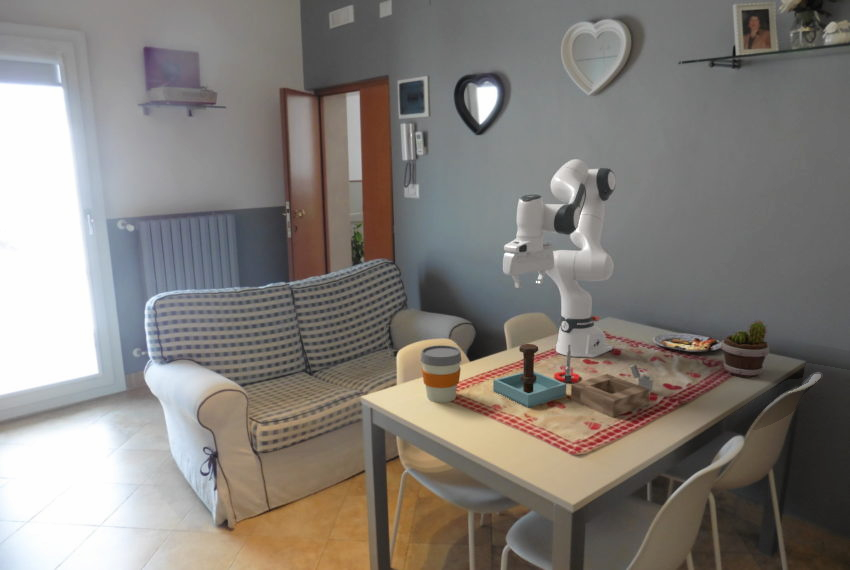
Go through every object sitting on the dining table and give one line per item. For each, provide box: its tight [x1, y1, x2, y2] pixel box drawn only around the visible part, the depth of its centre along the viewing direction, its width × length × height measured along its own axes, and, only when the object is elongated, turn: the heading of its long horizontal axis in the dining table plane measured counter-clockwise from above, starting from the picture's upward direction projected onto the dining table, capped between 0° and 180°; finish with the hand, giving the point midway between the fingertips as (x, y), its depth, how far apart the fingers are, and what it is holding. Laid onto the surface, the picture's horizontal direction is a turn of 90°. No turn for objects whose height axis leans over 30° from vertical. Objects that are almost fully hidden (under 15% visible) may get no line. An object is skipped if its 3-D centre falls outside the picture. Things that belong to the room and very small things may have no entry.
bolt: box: [519, 343, 539, 393], centre depth 190 cm, size 6×5×15 cm
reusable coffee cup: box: [420, 344, 462, 403], centre depth 189 cm, size 13×13×15 cm
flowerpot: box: [720, 319, 771, 379], centre depth 205 cm, size 14×15×20 cm
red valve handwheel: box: [553, 345, 581, 384], centre depth 204 cm, size 8×13×9 cm
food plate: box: [652, 332, 722, 353], centre depth 238 cm, size 25×23×4 cm
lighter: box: [629, 363, 654, 394], centre depth 193 cm, size 7×2×8 cm, turn 48°
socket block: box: [570, 373, 650, 418], centre depth 184 cm, size 16×16×5 cm
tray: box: [492, 371, 567, 409], centre depth 191 cm, size 16×16×4 cm
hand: (528, 285), depth 203 cm, fingers open, 8 cm apart
